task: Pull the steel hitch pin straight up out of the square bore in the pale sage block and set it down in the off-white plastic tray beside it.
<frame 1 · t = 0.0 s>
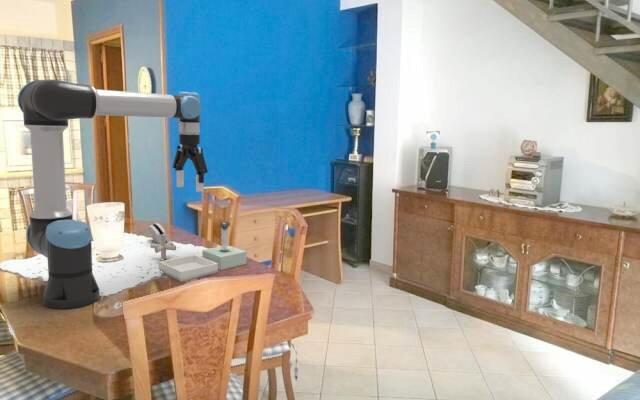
hand: (189, 189, 183), 28 cm above the table, tool pointing down, fingers open, 13 cm apart
pipe connector: (163, 260, 185), on the table
steel pin: (224, 243, 182), in the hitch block
tray: (188, 271, 172), on the table
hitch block: (224, 263, 184), on the table
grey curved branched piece: (160, 244, 208), on the table
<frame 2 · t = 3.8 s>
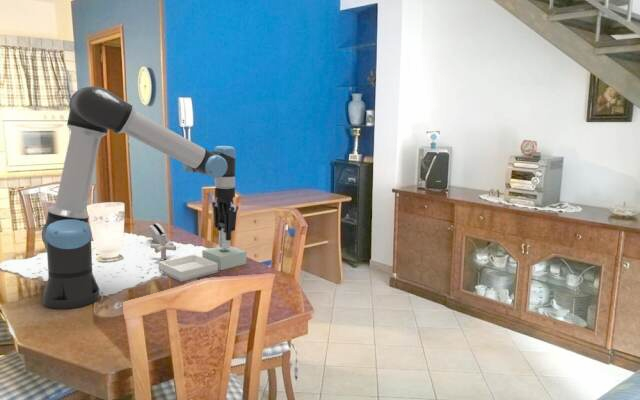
hand: (224, 247, 183), 7 cm above the table, tool pointing down, fingers closed on steel pin, 2 cm apart
steel pin: (224, 243, 182), in the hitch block, touching gripper
everything else where it was.
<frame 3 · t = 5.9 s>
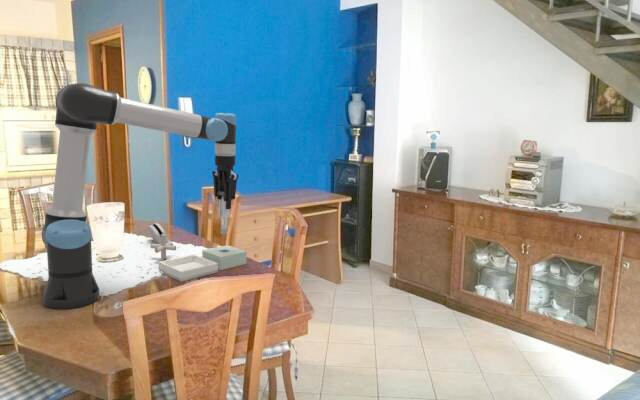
hand: (224, 216, 180), 19 cm above the table, tool pointing down, fingers closed on steel pin, 2 cm apart
steel pin: (224, 212, 180), point 20 cm above the table, touching gripper
everything else where it was.
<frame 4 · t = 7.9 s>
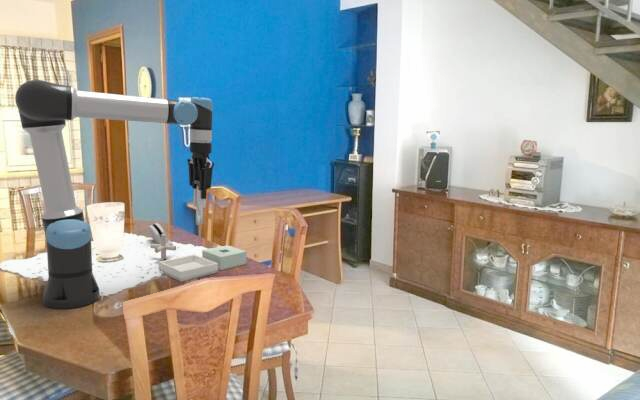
hand: (199, 206, 172), 24 cm above the table, tool pointing down, fingers closed on steel pin, 2 cm apart
steel pin: (199, 202, 172), point 25 cm above the table, touching gripper
everything else where it was.
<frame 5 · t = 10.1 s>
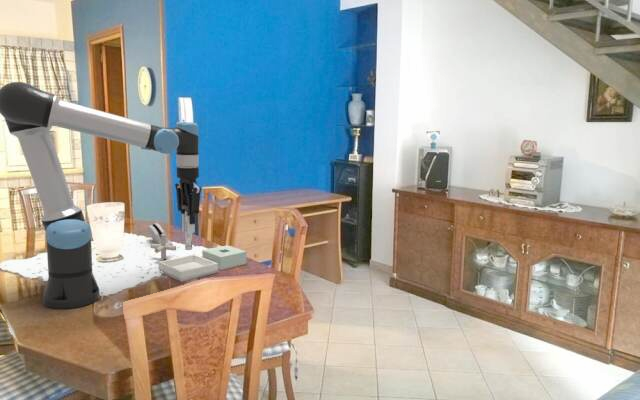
hand: (188, 231, 170), 15 cm above the table, tool pointing down, fingers closed on steel pin, 2 cm apart
steel pin: (188, 227, 169), point 17 cm above the table, touching gripper
everything else where it was.
when the fingers open (8 cm above the table, at t = 11.9 s): steel pin stays where it is, resting on tray.
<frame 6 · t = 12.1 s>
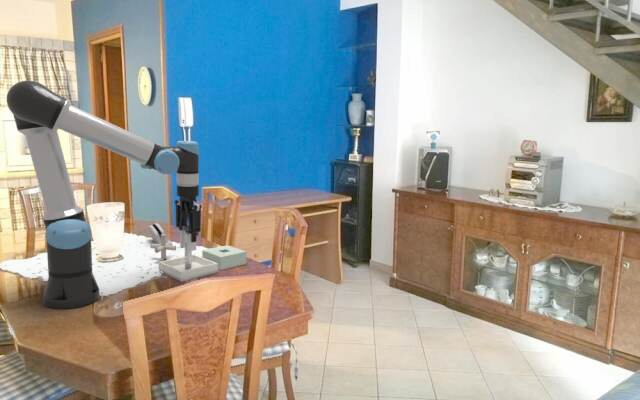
hand: (188, 248, 171), 9 cm above the table, tool pointing down, fingers open, 5 cm apart
steel pin: (188, 247, 170), in the tray, point 9 cm above the table
everything else where it was.
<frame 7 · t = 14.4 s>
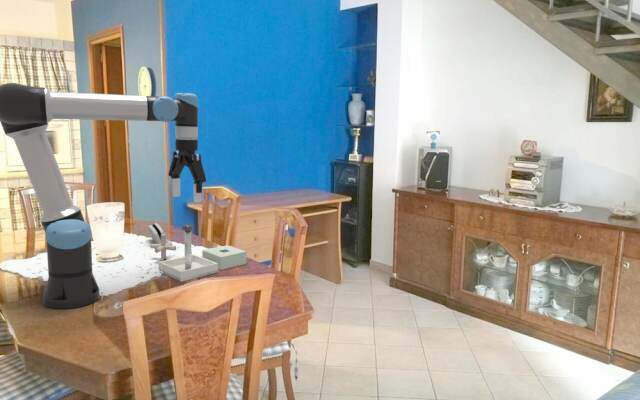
hand: (186, 199, 167), 27 cm above the table, tool pointing down, fingers open, 13 cm apart
nothing on the table moved.
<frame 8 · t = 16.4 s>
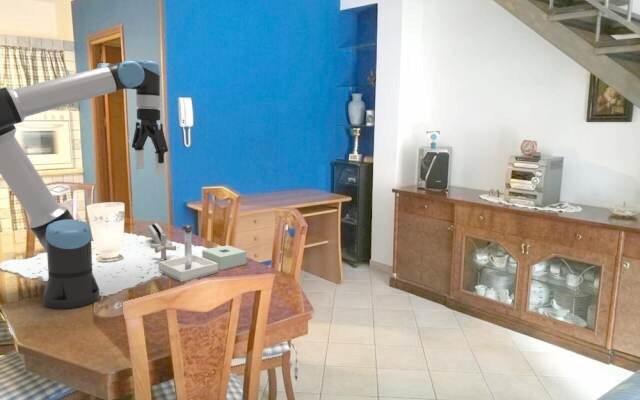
hand: (149, 170, 164), 37 cm above the table, tool pointing down, fingers open, 13 cm apart
nothing on the table moved.
at the end: steel pin inside the target area on the tray (0.0 cm from its centre), point 9.1 cm above the tray's base; the gripper is holding nothing; steel pin touching tray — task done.
